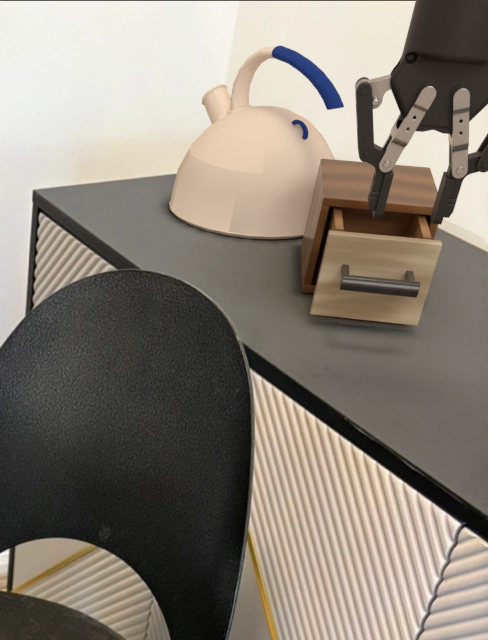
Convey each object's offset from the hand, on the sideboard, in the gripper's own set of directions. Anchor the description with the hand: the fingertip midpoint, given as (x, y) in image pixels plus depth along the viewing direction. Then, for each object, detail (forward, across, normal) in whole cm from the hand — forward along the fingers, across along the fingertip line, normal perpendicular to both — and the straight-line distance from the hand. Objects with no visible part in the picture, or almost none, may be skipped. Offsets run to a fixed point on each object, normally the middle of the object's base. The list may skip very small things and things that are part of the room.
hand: (406, 217), depth 96 cm
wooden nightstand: (+13, 0, +25) cm, 28 cm away
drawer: (+12, 0, +13) cm, 18 cm away
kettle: (+13, -12, +44) cm, 47 cm away
